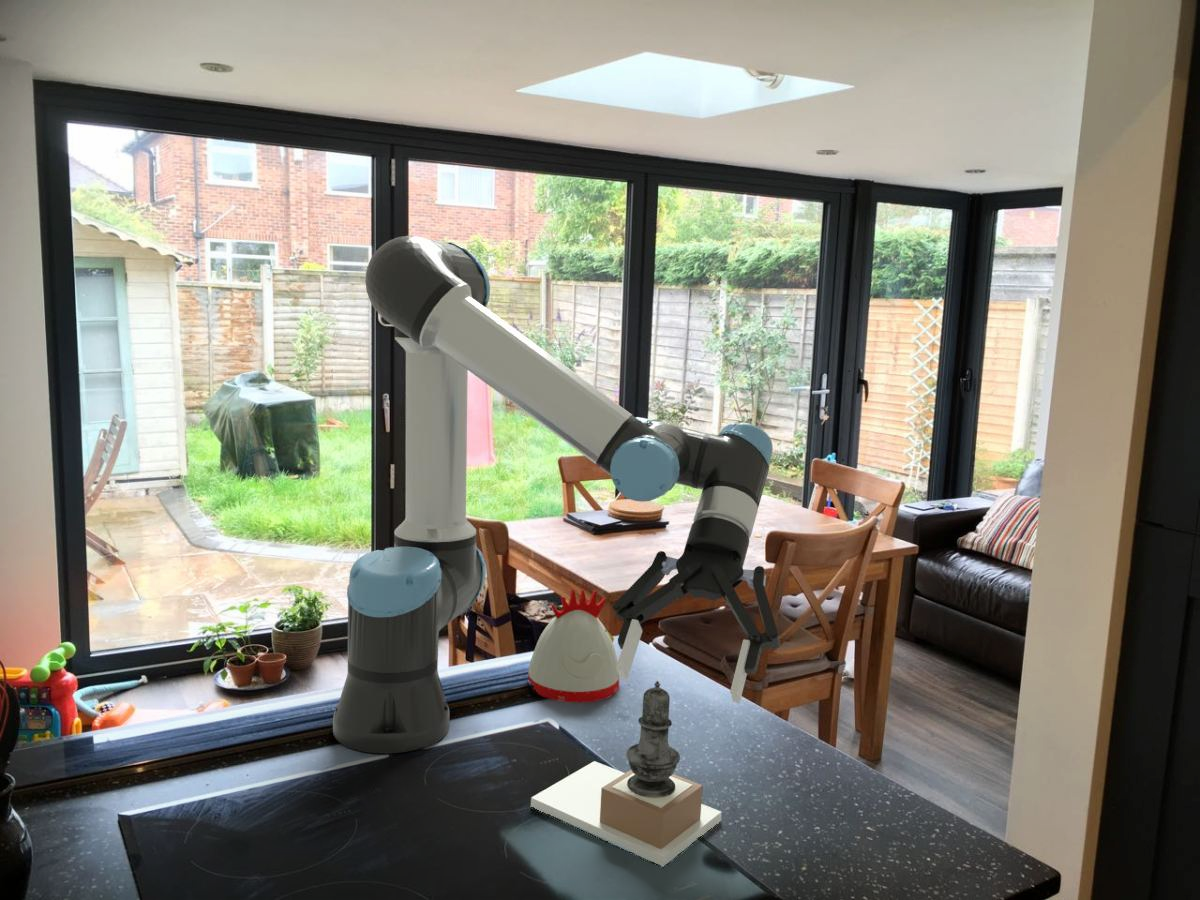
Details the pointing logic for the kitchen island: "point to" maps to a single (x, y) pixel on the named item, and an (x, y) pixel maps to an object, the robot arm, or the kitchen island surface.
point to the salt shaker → (653, 748)
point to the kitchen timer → (575, 654)
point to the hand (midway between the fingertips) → (676, 685)
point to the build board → (587, 811)
